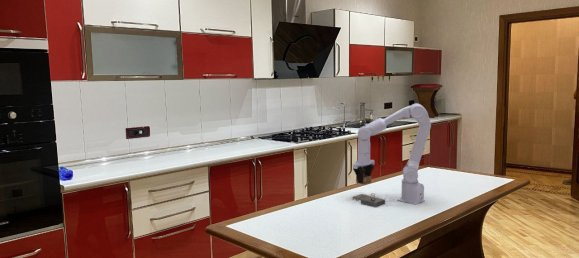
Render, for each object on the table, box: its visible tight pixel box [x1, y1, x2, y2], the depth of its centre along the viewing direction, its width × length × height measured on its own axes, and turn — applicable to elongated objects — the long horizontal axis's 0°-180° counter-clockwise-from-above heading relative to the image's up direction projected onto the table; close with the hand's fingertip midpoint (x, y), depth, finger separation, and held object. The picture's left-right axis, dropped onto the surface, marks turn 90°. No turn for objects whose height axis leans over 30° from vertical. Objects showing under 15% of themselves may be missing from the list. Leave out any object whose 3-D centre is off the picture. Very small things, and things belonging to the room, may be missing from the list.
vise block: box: [360, 192, 386, 208], centre depth 190 cm, size 8×7×4 cm
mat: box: [352, 193, 370, 201], centre depth 200 cm, size 7×7×1 cm
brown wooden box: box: [355, 175, 372, 186], centre depth 199 cm, size 5×5×3 cm
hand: (363, 181), depth 199 cm, fingers closed on brown wooden box, 5 cm apart
